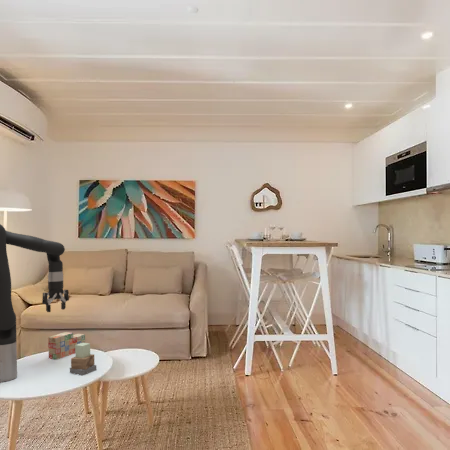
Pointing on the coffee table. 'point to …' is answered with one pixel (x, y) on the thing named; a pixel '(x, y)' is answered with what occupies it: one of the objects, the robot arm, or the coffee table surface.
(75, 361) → the walnut block
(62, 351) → the stack of blocks
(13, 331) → the robot arm
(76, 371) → the charcoal slab
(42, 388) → the coffee table surface
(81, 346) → the sage block
